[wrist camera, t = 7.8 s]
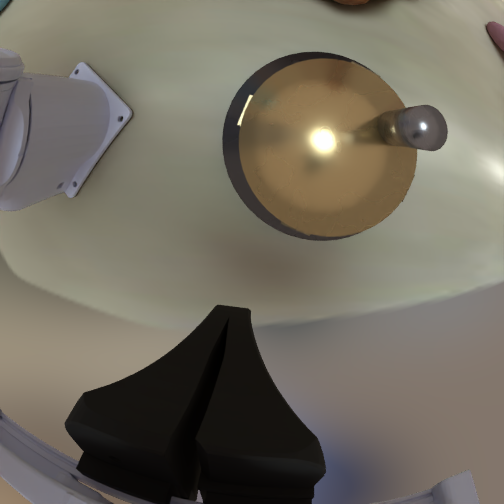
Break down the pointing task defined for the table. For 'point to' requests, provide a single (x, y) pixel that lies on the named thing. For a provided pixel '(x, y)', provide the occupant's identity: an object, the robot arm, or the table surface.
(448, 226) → the table surface
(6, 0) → the sugar bowl
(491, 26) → the video game controller
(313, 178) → the round lid with handle
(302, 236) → the base plate
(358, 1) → the pastry
